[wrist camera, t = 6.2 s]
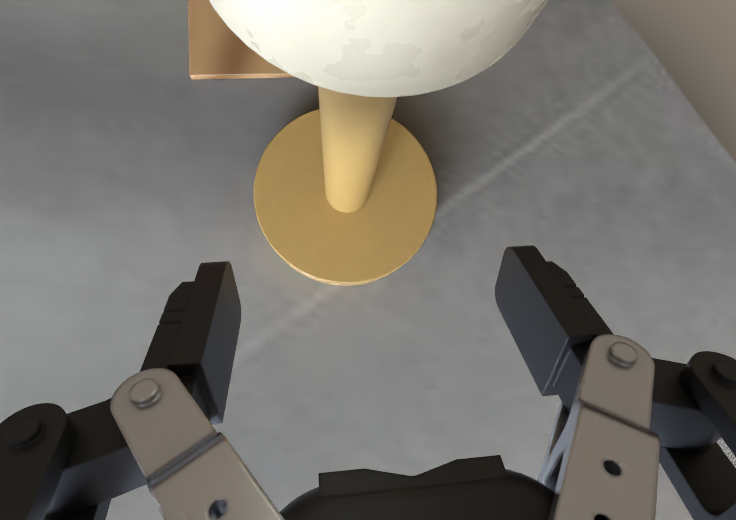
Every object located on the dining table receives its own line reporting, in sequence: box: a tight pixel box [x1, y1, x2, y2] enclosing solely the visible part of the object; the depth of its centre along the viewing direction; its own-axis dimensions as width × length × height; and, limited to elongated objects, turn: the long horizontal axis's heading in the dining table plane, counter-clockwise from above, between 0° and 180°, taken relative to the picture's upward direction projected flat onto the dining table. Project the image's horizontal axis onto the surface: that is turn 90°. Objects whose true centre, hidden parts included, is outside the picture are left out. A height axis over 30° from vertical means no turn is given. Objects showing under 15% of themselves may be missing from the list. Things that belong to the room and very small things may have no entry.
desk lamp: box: [209, 0, 548, 286], centre depth 16 cm, size 11×11×24 cm
